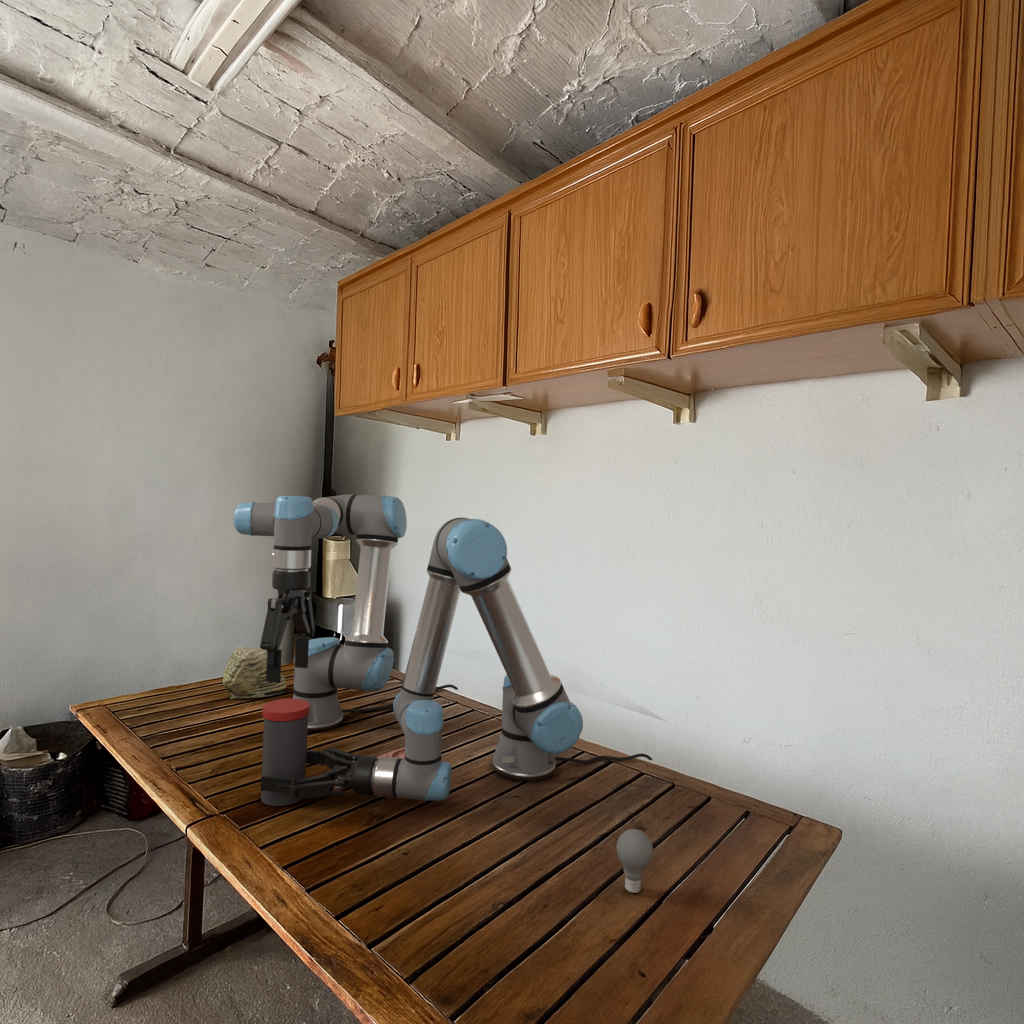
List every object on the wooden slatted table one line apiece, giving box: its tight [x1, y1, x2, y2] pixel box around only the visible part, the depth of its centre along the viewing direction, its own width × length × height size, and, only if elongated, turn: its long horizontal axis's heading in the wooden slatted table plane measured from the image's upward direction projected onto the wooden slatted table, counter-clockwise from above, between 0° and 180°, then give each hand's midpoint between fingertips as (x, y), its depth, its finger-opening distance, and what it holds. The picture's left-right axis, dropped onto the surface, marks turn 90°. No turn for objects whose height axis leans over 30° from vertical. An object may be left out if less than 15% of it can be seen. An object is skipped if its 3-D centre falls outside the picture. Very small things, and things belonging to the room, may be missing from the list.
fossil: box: [222, 646, 288, 699], centre depth 198 cm, size 9×18×15 cm, turn 132°
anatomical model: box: [376, 747, 405, 759], centre depth 149 cm, size 13×4×12 cm
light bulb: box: [615, 828, 654, 894], centre depth 106 cm, size 6×6×10 cm
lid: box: [262, 697, 310, 721], centre depth 133 cm, size 9×9×2 cm
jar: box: [260, 715, 308, 807], centre depth 133 cm, size 9×9×19 cm
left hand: (287, 674), depth 133 cm, fingers open, 11 cm apart
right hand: (276, 768), depth 133 cm, fingers open, 13 cm apart
